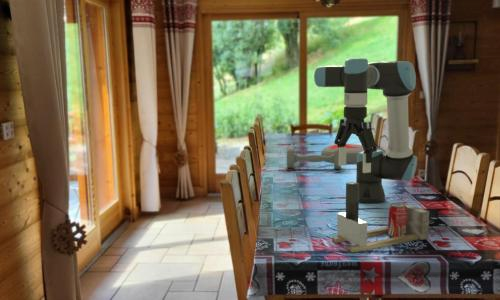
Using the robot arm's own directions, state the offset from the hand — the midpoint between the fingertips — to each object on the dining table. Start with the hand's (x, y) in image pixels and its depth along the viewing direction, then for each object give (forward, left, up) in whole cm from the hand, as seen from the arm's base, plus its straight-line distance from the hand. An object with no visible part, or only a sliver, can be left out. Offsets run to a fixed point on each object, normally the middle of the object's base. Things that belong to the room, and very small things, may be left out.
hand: (353, 168), depth 156 cm
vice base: (0, +12, -27) cm, 29 cm away
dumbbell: (-119, +57, -27) cm, 135 cm away
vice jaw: (0, 0, -25) cm, 25 cm away
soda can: (0, +20, -27) cm, 34 cm away
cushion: (-137, +95, -28) cm, 169 cm away
